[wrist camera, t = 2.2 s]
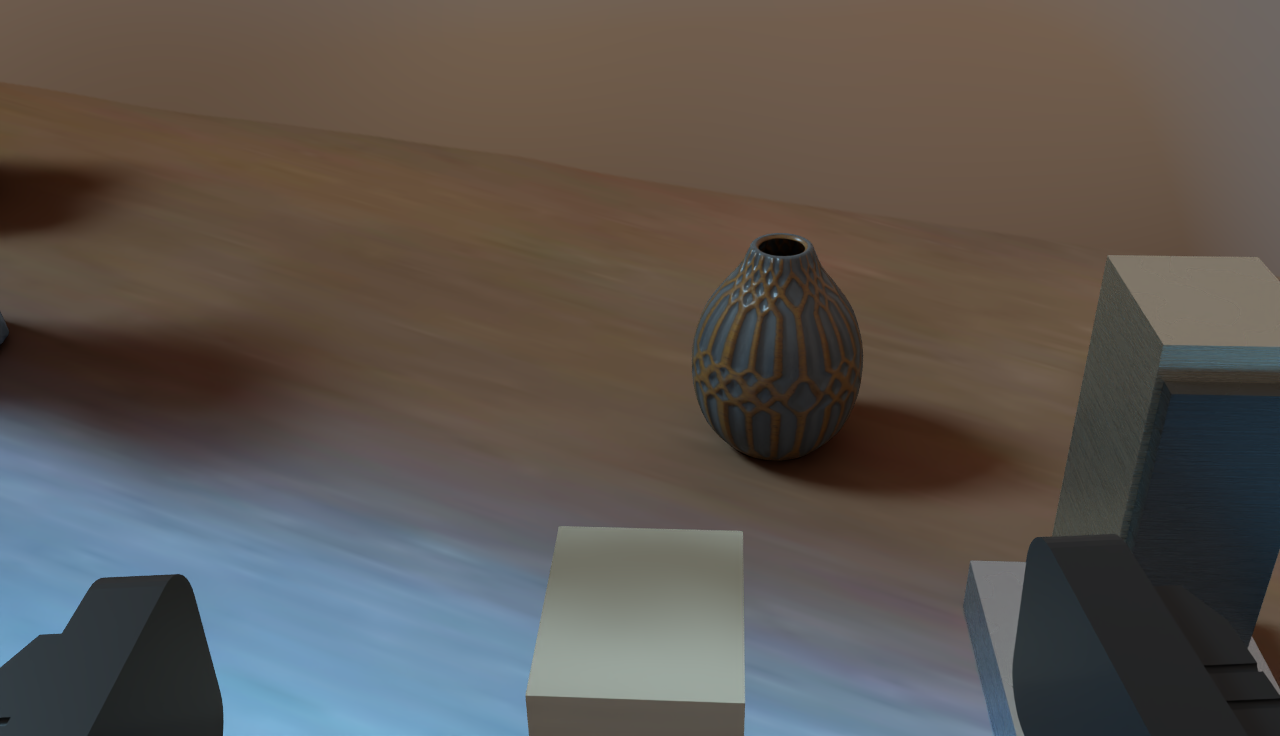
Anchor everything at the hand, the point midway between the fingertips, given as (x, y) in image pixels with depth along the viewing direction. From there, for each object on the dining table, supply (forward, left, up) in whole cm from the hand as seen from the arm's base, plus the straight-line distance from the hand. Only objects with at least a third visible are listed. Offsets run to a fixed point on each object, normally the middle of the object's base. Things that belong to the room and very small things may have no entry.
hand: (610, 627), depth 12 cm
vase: (+24, +24, -20) cm, 40 cm away
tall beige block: (+6, +8, -20) cm, 22 cm away
